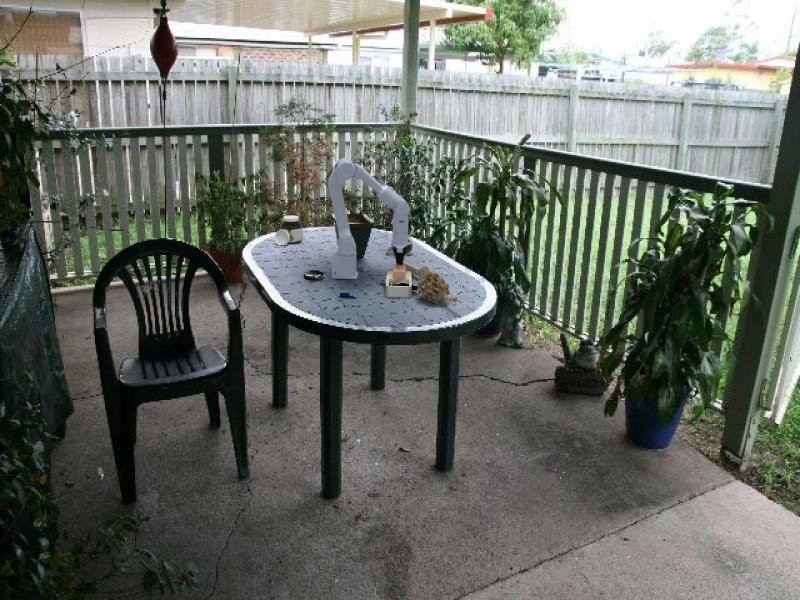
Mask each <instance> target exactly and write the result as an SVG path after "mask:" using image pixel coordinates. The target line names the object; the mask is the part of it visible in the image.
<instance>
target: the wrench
mask: <svg viewBox="0 0 800 600" xmlns="http://www.w3.org/2000/svg"><path fill="white" fill-rule="evenodd" d="M403 265H405V271H411V275H414V276H417V277H418V278H419V279H420V278H421V276H422V275H424V273H427V272H432V273H433V274H434V273H435V271H434V268H433V266H431V265H428V264H427V265H424V266H423V267H418V266H416V265H414V264H411V263H408V262H406V261H403Z"/></svg>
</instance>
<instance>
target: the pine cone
mask: <svg viewBox="0 0 800 600" xmlns="http://www.w3.org/2000/svg"><path fill="white" fill-rule="evenodd" d="M417 282H418V283H417V286H418V287H417V289H416V291H417V292H418V293H419V294H421V297H422V298H423V299H425V300H426V299H427V301H428V302H430V303H432V302H434V304H435V305H439V304H440V303H441V302H442V303H443V302H444V301H448V302H453V303H457V301H458V296H455V297H451V296H449V295H450V290H449V288H450V285H449V284H448V283H447V282H446V281H445V279H444V278H443V276H442V277H440V275H439V273H437V272H434V274H433V273H432V272H427V273H424V275H422V276H421V278H419V279H418V281H417Z"/></svg>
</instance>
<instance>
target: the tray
mask: <svg viewBox="0 0 800 600" xmlns="http://www.w3.org/2000/svg"><path fill="white" fill-rule="evenodd" d="M412 282H413V281H412V275H411V276H409V286H389V275H387V274H386V281H385V298H398V297H401V298H402V299H404V298H405V299H406V298H407V299H409V298H410V299H412Z"/></svg>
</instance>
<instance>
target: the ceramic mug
mask: <svg viewBox="0 0 800 600" xmlns="http://www.w3.org/2000/svg"><path fill="white" fill-rule="evenodd" d="M392 242H393V239H392V241H391V246H390V247H388V248H387V249H386V250H385V254H386V255H387V256H392V255H395V254H394V252H393V247H395V246H393V245H392ZM408 242H411V245H407V252H406V254H405V257H406V256H409V255H410V254H411V253H412V251H413V248H414V247H413V243H412V241H411V239H409V238H408Z"/></svg>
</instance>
